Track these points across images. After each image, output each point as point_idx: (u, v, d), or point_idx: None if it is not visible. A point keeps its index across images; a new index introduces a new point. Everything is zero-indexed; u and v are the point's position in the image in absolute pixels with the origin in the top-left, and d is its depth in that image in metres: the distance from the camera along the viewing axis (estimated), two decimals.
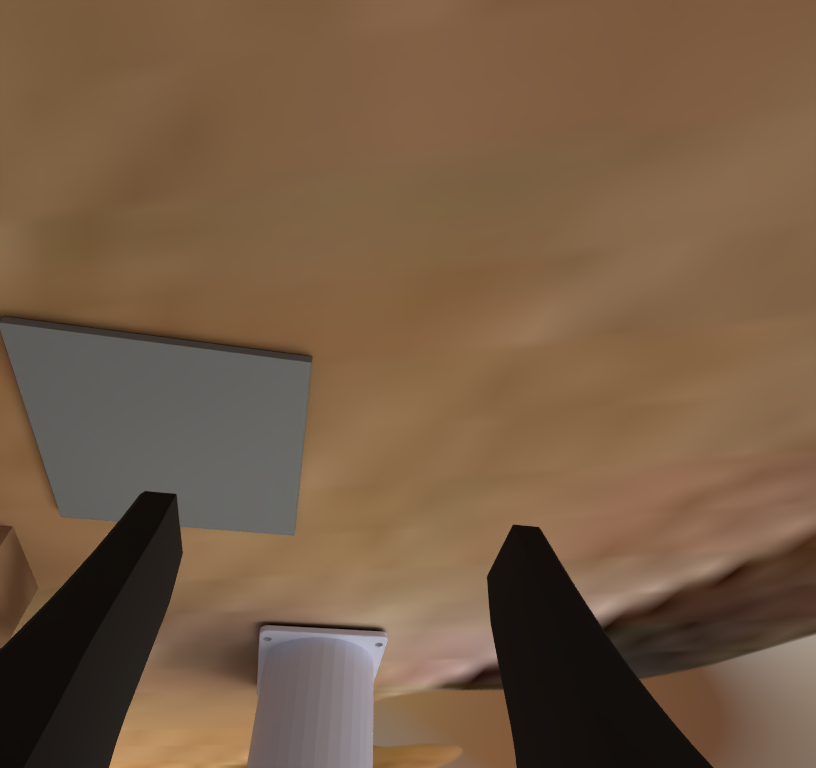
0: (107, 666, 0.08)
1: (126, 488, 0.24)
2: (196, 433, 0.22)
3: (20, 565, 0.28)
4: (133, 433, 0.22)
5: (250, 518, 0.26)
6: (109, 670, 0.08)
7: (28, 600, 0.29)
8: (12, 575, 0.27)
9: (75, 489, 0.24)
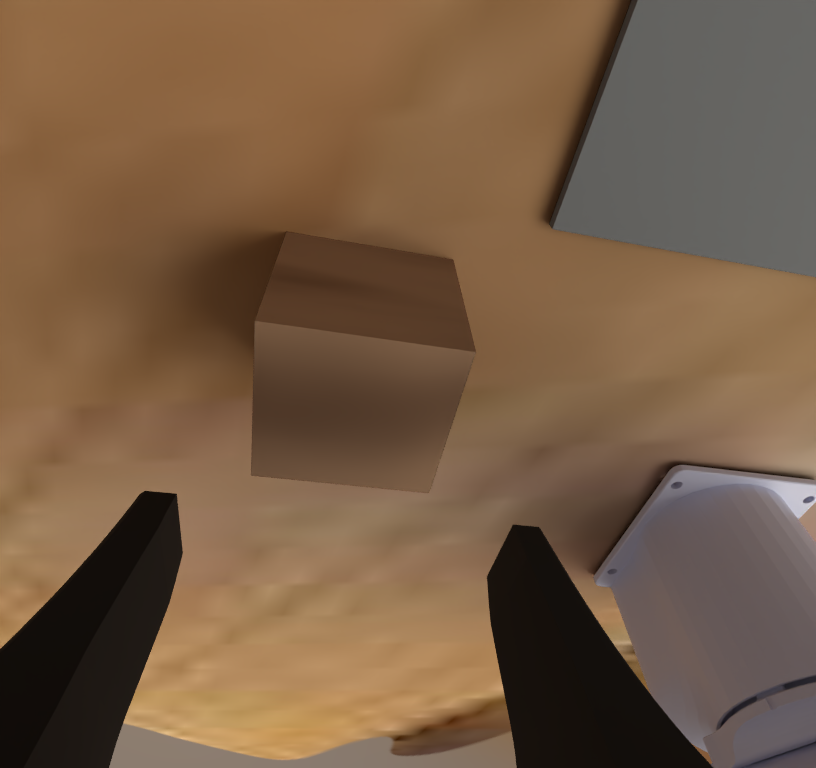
0: (107, 666, 0.08)
1: (686, 166, 0.16)
2: None
3: None
4: (781, 28, 0.14)
5: None
6: (109, 670, 0.08)
7: None
8: None
9: (610, 165, 0.16)
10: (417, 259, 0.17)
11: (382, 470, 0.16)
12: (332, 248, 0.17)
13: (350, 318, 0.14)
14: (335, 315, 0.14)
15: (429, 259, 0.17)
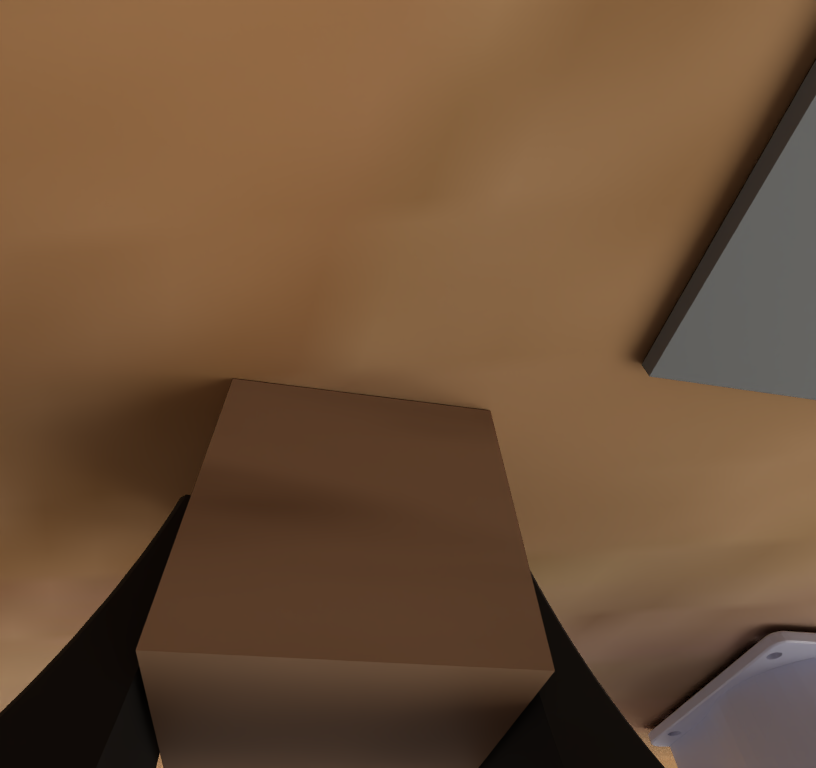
0: None
1: None
2: None
3: None
4: None
5: None
6: None
7: None
8: None
9: (755, 290, 0.10)
10: (437, 420, 0.11)
11: None
12: (303, 412, 0.10)
13: (325, 606, 0.07)
14: (298, 600, 0.07)
15: (455, 417, 0.11)
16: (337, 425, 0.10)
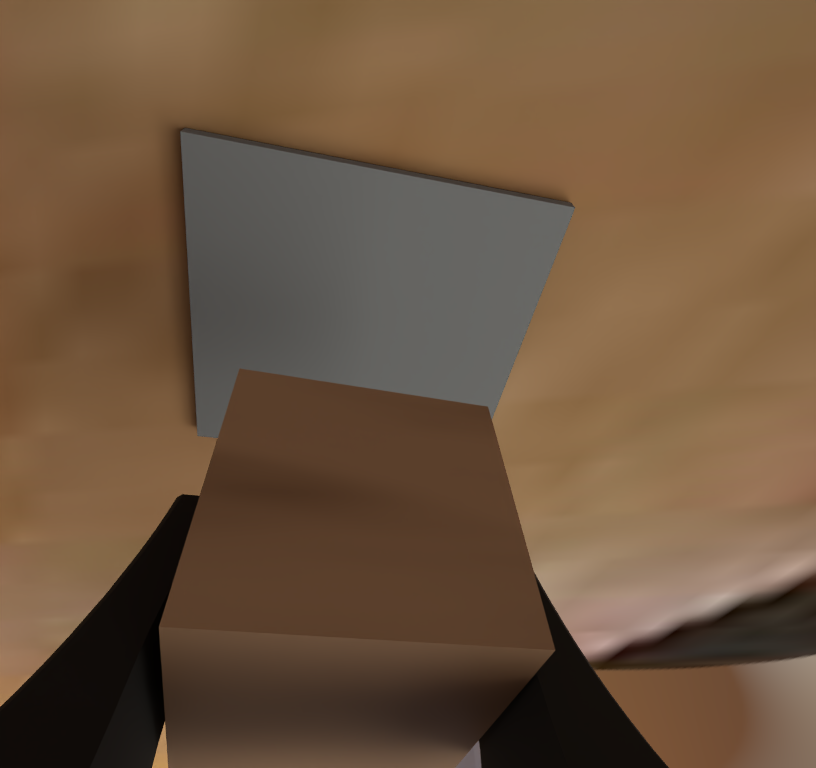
0: (154, 668, 0.08)
1: None
2: (397, 316, 0.17)
3: None
4: (317, 314, 0.17)
5: None
6: (155, 672, 0.09)
7: None
8: None
9: (224, 396, 0.19)
10: (438, 414, 0.11)
11: (379, 761, 0.10)
12: (310, 402, 0.11)
13: (339, 588, 0.08)
14: (313, 581, 0.08)
15: (455, 412, 0.12)
16: (343, 416, 0.11)
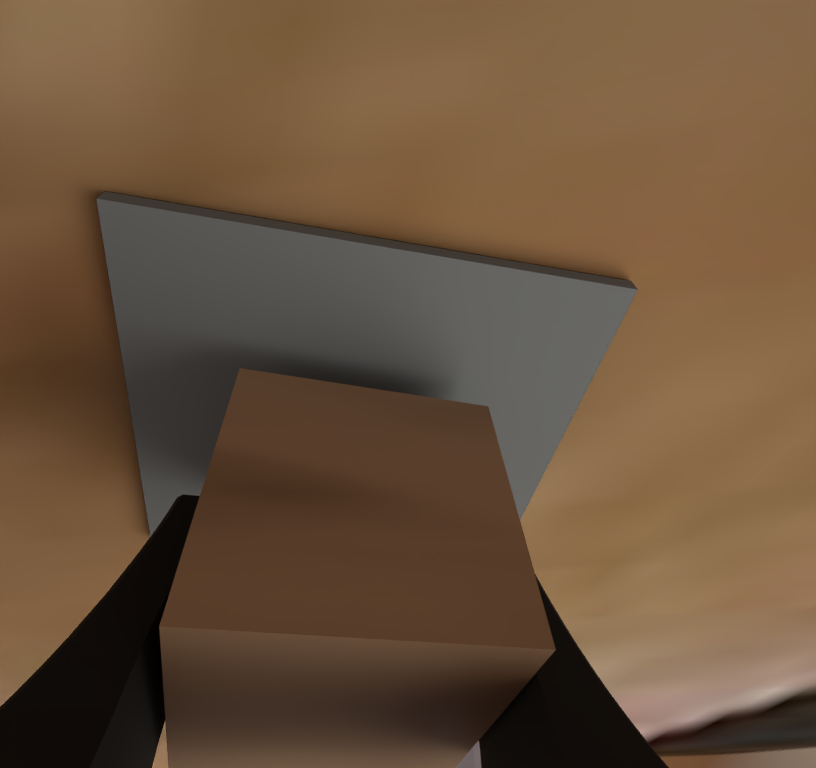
0: (154, 668, 0.08)
1: None
2: None
3: None
4: None
5: None
6: (155, 672, 0.09)
7: None
8: None
9: None
10: (438, 413, 0.11)
11: (380, 760, 0.10)
12: (310, 402, 0.11)
13: (339, 588, 0.08)
14: (313, 581, 0.08)
15: (455, 412, 0.12)
16: (343, 416, 0.11)
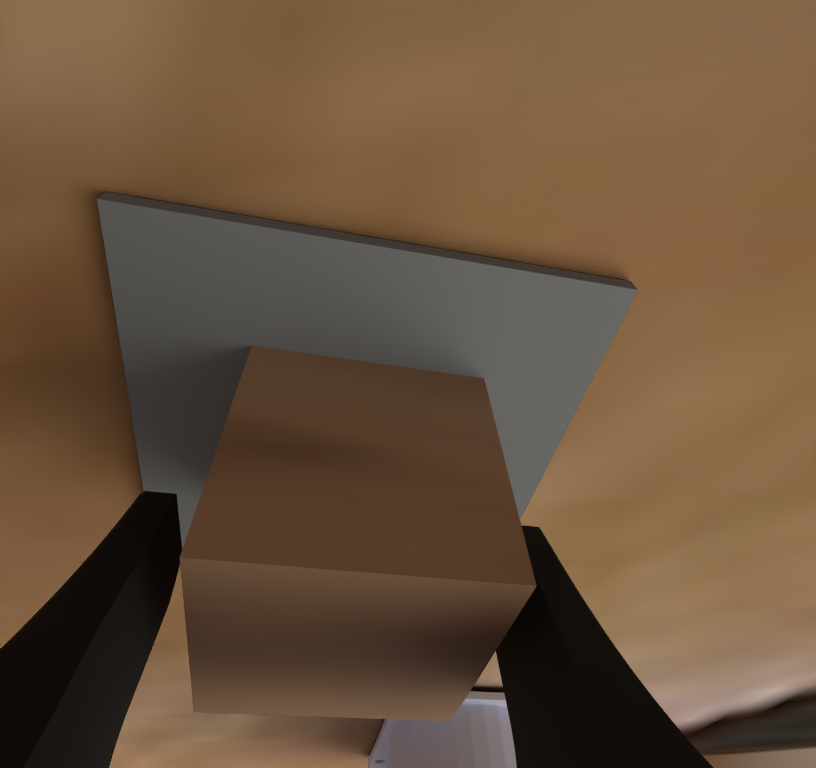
0: (107, 666, 0.08)
1: None
2: None
3: None
4: None
5: None
6: (109, 670, 0.08)
7: None
8: None
9: (182, 507, 0.15)
10: (436, 385, 0.12)
11: (385, 703, 0.11)
12: (316, 374, 0.12)
13: (339, 530, 0.09)
14: (315, 524, 0.09)
15: (452, 383, 0.12)
16: (346, 386, 0.12)
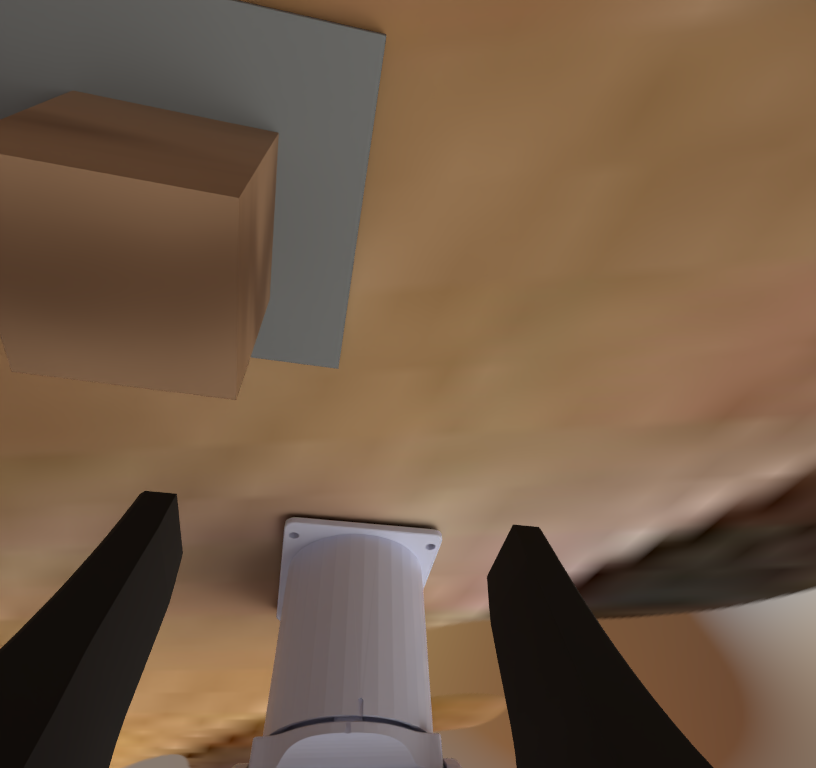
0: (107, 666, 0.08)
1: None
2: None
3: (271, 226, 0.16)
4: None
5: (283, 336, 0.20)
6: (109, 670, 0.08)
7: (265, 307, 0.18)
8: (267, 228, 0.16)
9: None
10: (230, 128, 0.15)
11: (170, 367, 0.14)
12: (121, 108, 0.14)
13: (86, 157, 0.11)
14: (67, 152, 0.11)
15: (246, 129, 0.15)
16: (145, 116, 0.14)
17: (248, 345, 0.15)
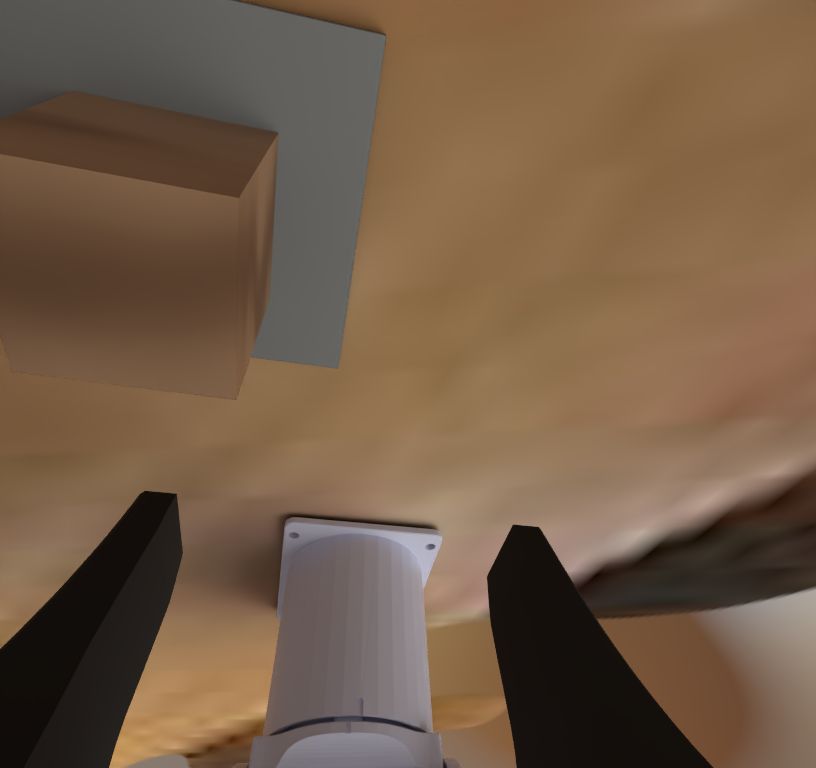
0: (107, 666, 0.08)
1: None
2: None
3: (271, 226, 0.16)
4: None
5: (283, 336, 0.20)
6: (109, 670, 0.08)
7: (265, 307, 0.18)
8: (267, 228, 0.16)
9: None
10: (230, 128, 0.15)
11: (170, 367, 0.14)
12: (121, 108, 0.14)
13: (86, 157, 0.11)
14: (67, 152, 0.11)
15: (246, 129, 0.15)
16: (145, 116, 0.14)
17: (248, 345, 0.15)
